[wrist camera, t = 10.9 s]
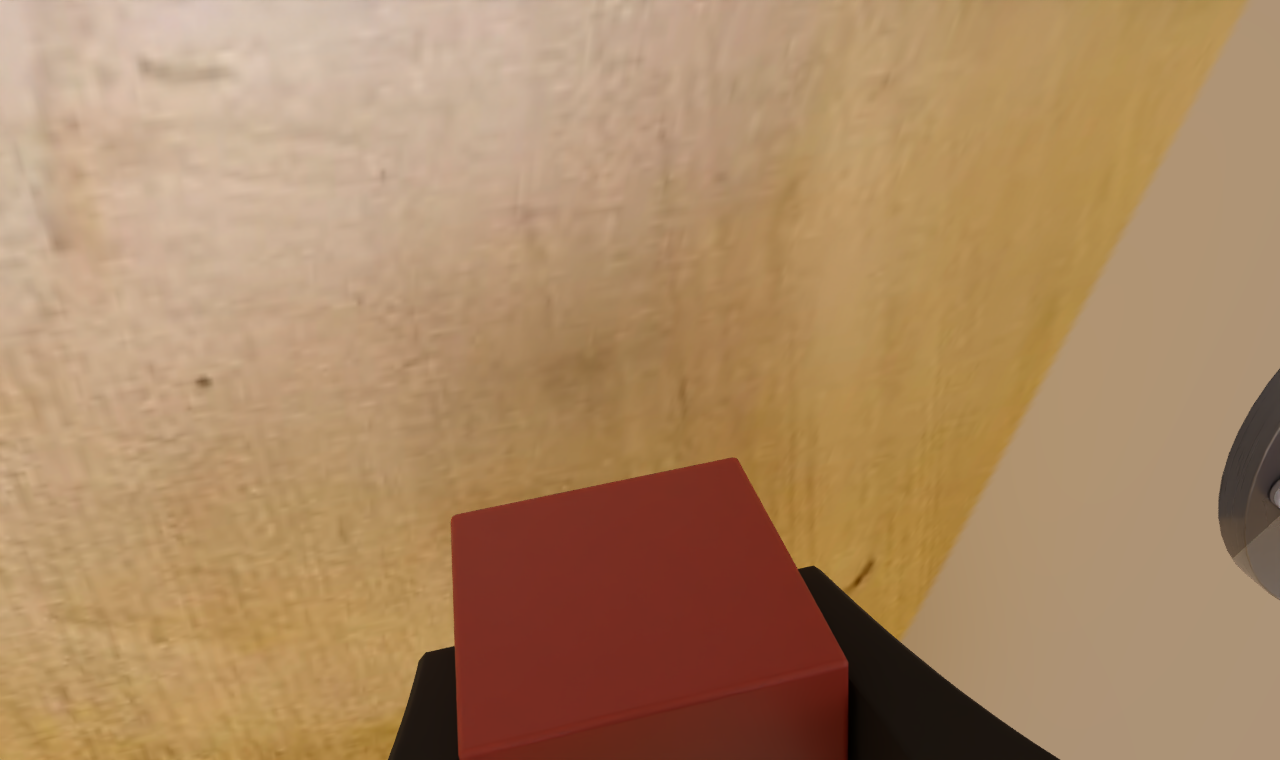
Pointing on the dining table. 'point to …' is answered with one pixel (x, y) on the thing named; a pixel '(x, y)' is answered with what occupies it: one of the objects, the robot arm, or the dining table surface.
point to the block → (641, 628)
